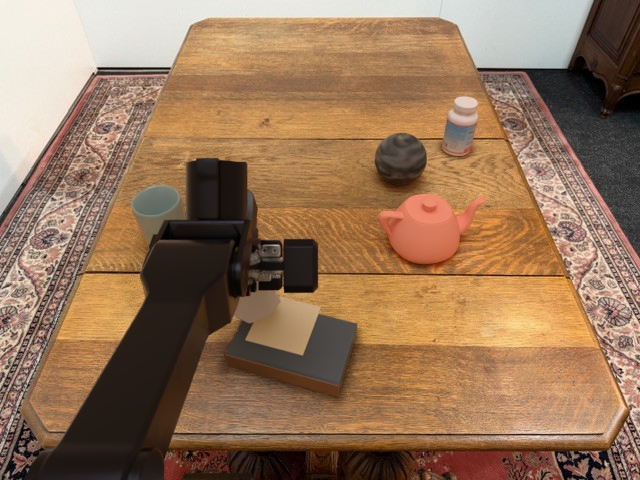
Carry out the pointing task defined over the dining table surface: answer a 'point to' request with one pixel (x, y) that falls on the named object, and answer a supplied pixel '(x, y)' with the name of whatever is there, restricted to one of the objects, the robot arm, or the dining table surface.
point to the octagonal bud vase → (257, 305)
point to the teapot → (427, 228)
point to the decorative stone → (400, 158)
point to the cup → (156, 208)
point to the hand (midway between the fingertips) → (249, 263)
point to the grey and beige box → (295, 347)
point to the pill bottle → (460, 126)
